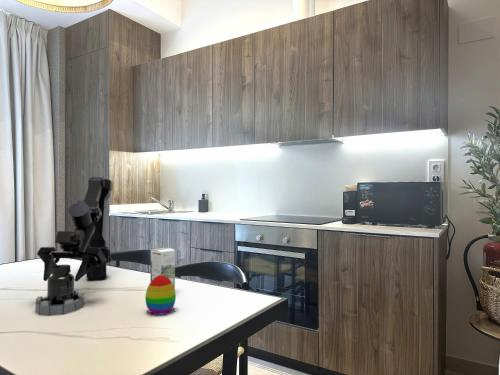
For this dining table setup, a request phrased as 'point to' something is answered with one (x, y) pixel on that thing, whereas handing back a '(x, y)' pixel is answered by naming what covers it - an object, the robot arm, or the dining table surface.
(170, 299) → the decorative egg
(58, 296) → the supplement bottle
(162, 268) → the syrup box
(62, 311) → the grey segmented ring
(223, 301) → the dining table surface
